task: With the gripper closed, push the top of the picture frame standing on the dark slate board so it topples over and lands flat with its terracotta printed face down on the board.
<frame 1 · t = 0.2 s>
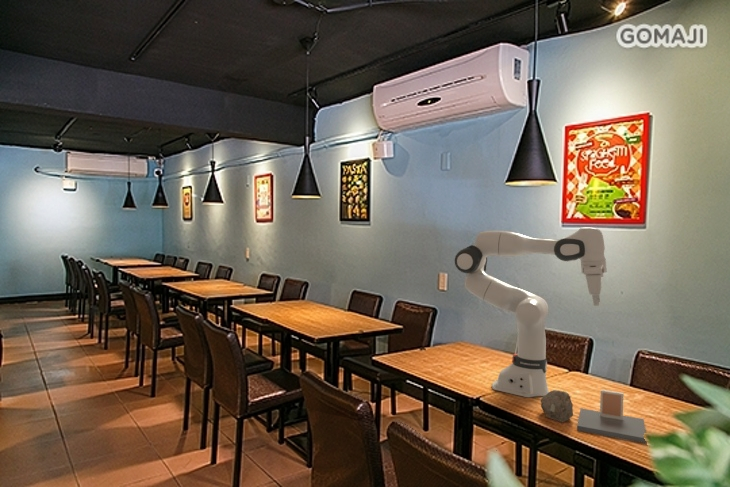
hand: (596, 303, 187), 38 cm above the table, tool pointing down, fingers open, 8 cm apart
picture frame: (611, 417, 168), point 2 cm above the table, touching board
board: (610, 426, 163), on the table
rock: (557, 418, 170), on the table
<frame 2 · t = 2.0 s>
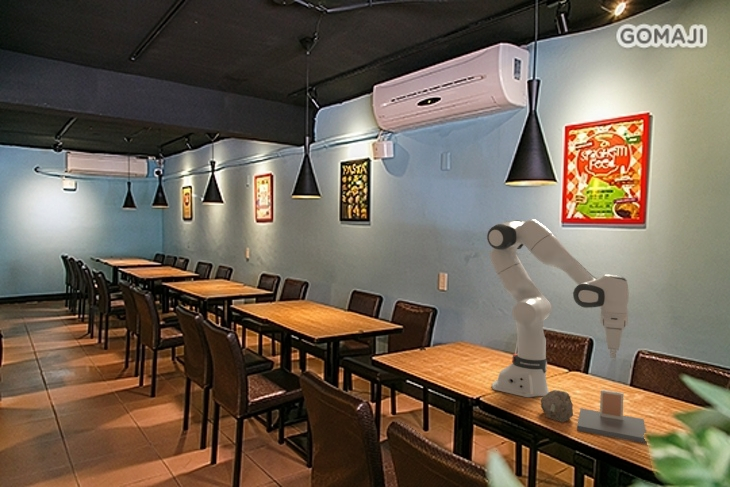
hand: (613, 357, 174), 21 cm above the table, tool pointing down, fingers closed
nothing on the table moved.
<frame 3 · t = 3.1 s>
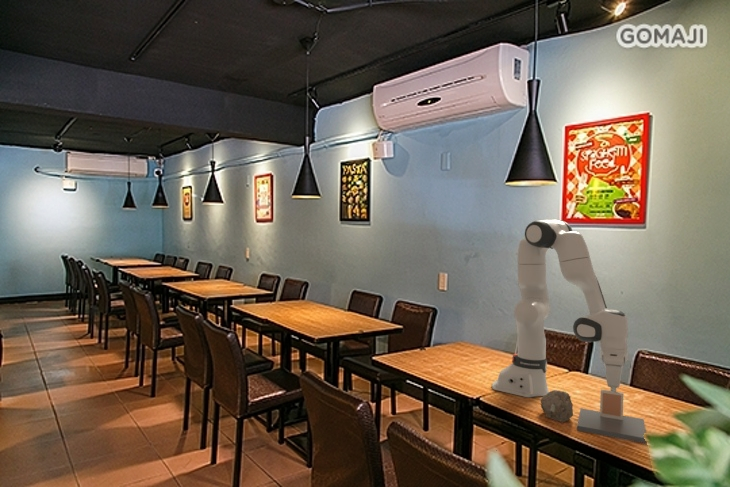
hand: (613, 393, 172), 8 cm above the table, tool pointing down, fingers closed
nothing on the table moved.
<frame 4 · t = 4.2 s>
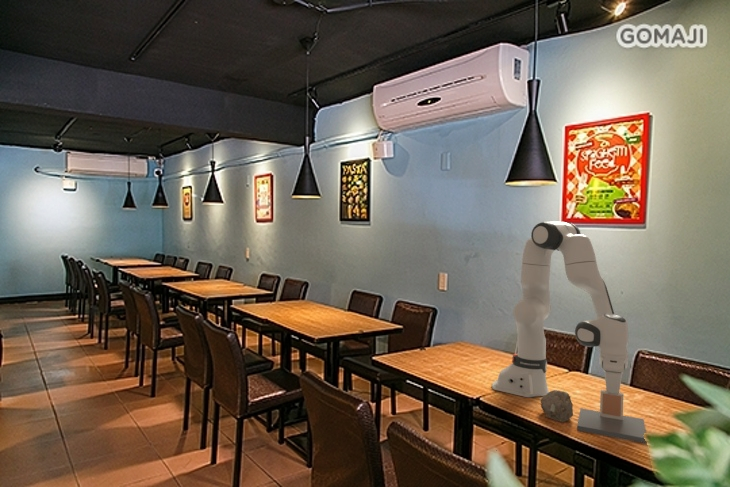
hand: (612, 399, 170), 7 cm above the table, tool pointing down, fingers closed
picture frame: (611, 417, 168), point 2 cm above the table, touching board, gripper
everything else where it was.
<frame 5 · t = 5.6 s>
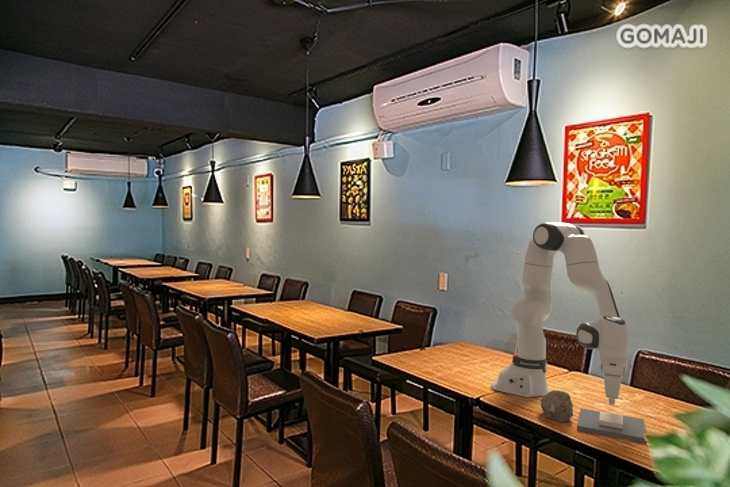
hand: (611, 403, 166), 7 cm above the table, tool pointing down, fingers closed
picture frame: (611, 415, 167), point 3 cm above the table, tilted 90°, touching board
everything else where it was.
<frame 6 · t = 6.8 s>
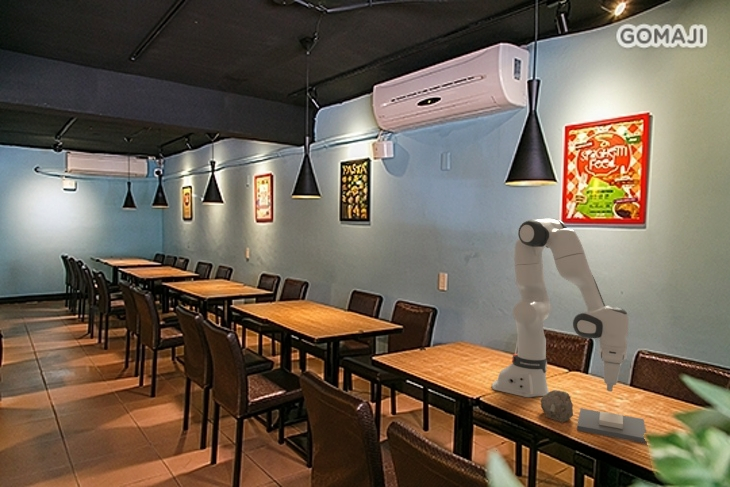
hand: (609, 390, 172), 10 cm above the table, tool pointing down, fingers closed
nothing on the table moved.
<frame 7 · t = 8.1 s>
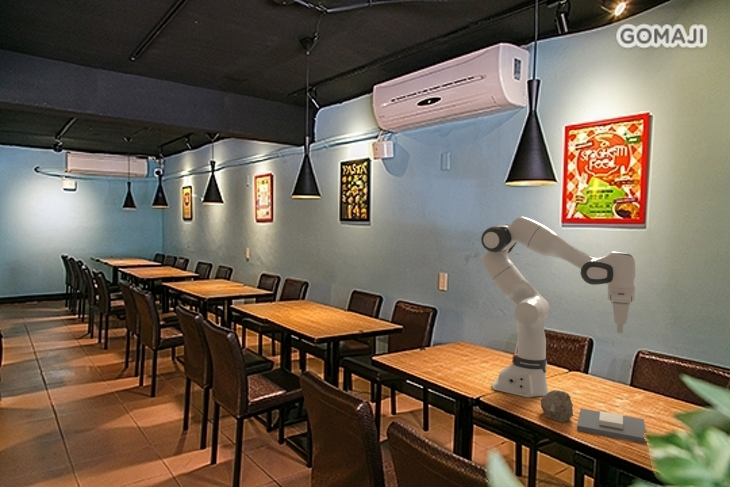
hand: (619, 332, 178), 29 cm above the table, tool pointing down, fingers closed
nothing on the table moved.
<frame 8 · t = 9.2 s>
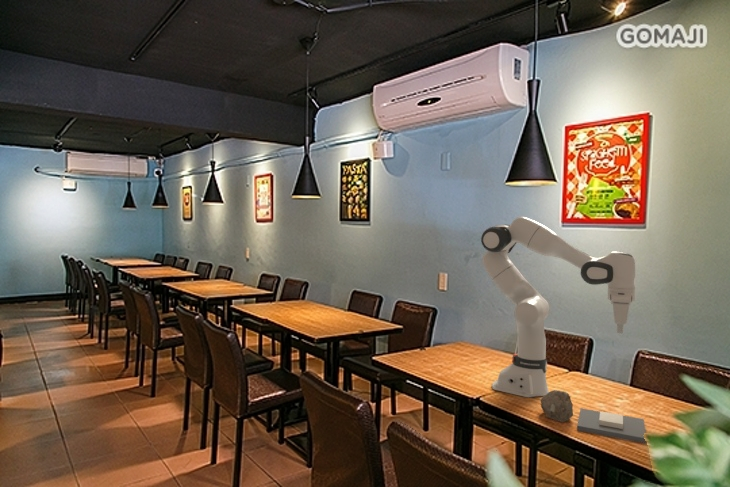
hand: (619, 332, 178), 29 cm above the table, tool pointing down, fingers closed
nothing on the table moved.
at the end: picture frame tilted 90°; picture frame inside the target area on the board (4.8 cm from its centre), point 2.5 cm above the board's base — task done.
